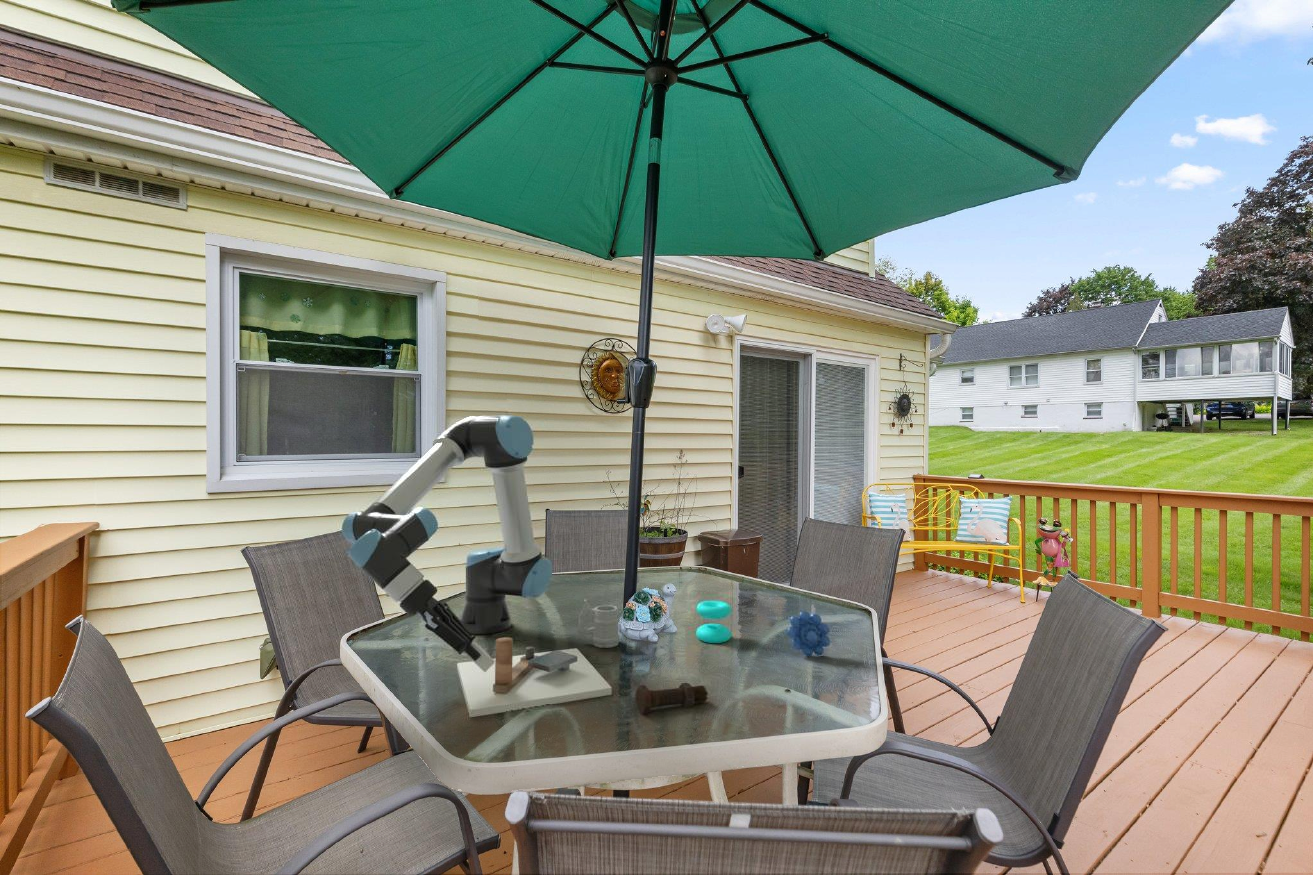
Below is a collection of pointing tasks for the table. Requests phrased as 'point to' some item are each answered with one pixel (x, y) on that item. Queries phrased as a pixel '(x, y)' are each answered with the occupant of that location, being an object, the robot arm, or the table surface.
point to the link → (509, 665)
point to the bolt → (669, 697)
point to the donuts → (713, 631)
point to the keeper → (553, 661)
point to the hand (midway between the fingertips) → (489, 666)
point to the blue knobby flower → (808, 633)
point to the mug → (600, 625)
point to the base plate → (530, 686)
